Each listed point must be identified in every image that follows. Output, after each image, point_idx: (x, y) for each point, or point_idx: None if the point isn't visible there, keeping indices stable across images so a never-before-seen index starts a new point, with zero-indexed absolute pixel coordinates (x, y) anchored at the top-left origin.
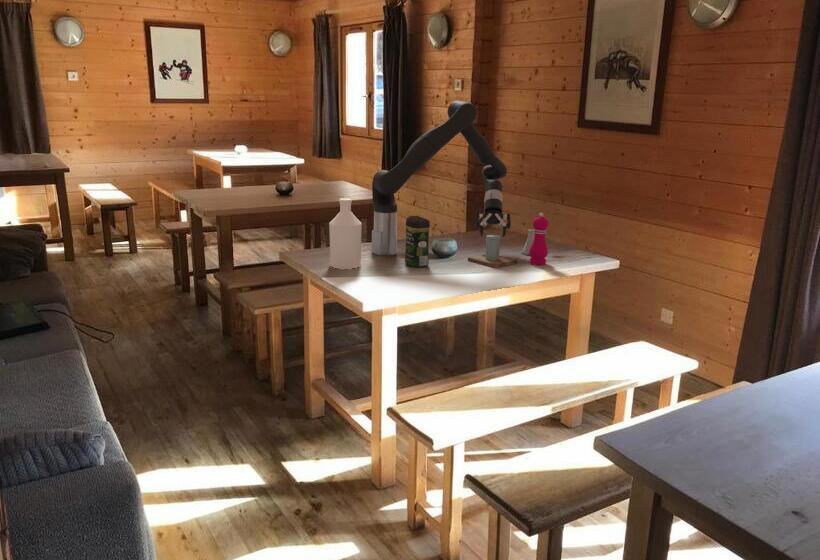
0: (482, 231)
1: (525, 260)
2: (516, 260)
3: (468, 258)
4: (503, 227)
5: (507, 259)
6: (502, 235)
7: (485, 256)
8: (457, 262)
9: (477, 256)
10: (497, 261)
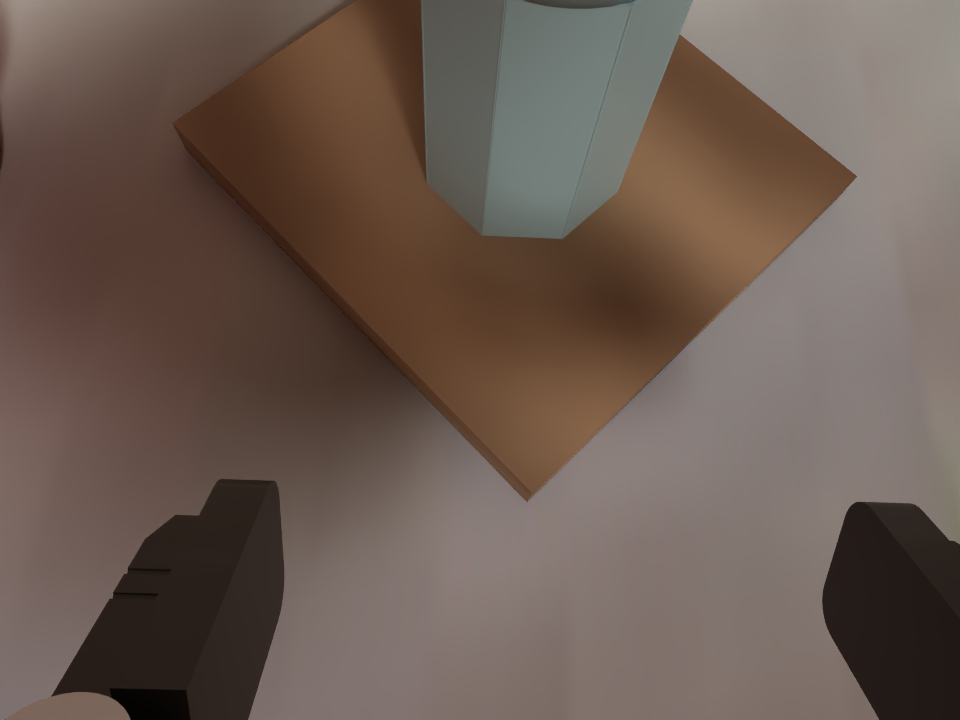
0: (906, 528)
1: (13, 311)
2: (183, 119)
3: (842, 177)
4: (161, 656)
5: (307, 137)
6: (277, 515)
7: (621, 179)
8: (942, 96)
9: (733, 249)
10: None
